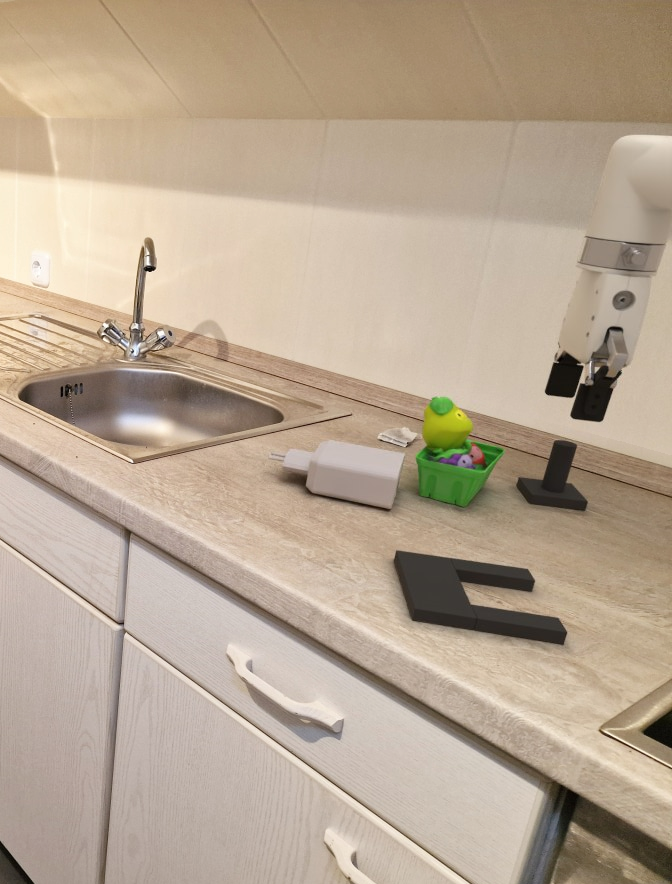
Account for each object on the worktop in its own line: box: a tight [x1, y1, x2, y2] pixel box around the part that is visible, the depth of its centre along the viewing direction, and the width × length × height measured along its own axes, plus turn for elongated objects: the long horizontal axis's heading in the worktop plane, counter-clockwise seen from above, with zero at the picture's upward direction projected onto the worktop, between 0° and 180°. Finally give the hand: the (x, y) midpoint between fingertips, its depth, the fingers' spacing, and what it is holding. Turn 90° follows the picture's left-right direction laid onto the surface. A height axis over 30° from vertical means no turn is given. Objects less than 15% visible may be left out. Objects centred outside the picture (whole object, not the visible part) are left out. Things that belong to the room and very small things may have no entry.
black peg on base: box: [515, 439, 589, 511], centre depth 102 cm, size 6×6×7 cm
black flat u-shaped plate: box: [393, 549, 569, 645], centre depth 78 cm, size 12×12×1 cm
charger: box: [267, 439, 406, 510], centre depth 102 cm, size 5×9×15 cm
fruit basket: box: [415, 396, 506, 508], centre depth 102 cm, size 11×9×11 cm
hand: (571, 407), depth 99 cm, fingers open, 9 cm apart
